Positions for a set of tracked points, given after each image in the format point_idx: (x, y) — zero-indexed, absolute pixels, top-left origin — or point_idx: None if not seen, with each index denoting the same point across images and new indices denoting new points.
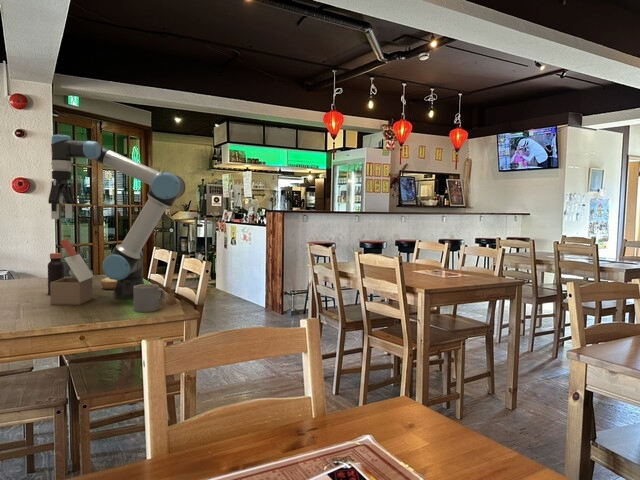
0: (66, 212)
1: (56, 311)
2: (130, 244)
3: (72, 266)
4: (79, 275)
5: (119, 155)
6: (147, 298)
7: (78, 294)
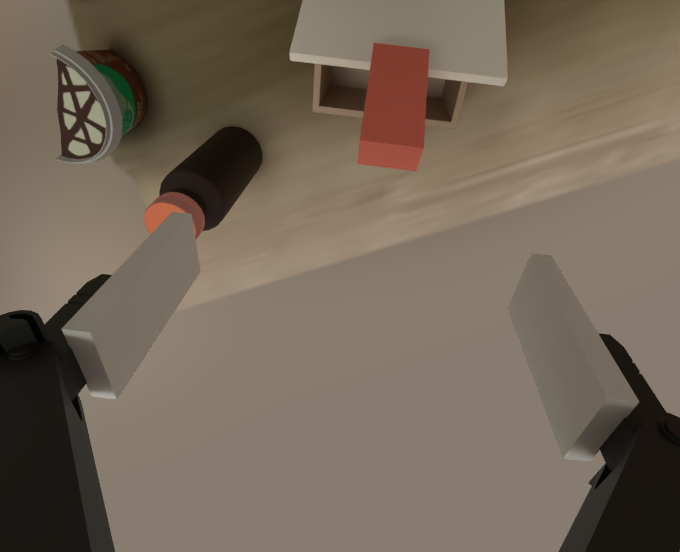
0: (170, 300)
1: (587, 36)
2: None
3: (488, 28)
4: None
5: None
6: None
7: None
